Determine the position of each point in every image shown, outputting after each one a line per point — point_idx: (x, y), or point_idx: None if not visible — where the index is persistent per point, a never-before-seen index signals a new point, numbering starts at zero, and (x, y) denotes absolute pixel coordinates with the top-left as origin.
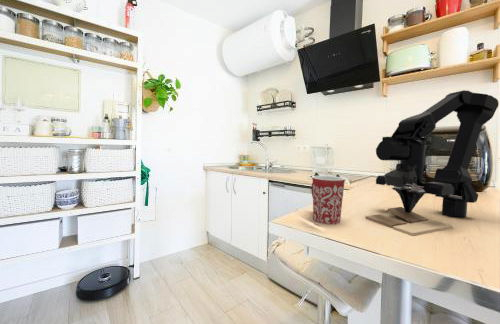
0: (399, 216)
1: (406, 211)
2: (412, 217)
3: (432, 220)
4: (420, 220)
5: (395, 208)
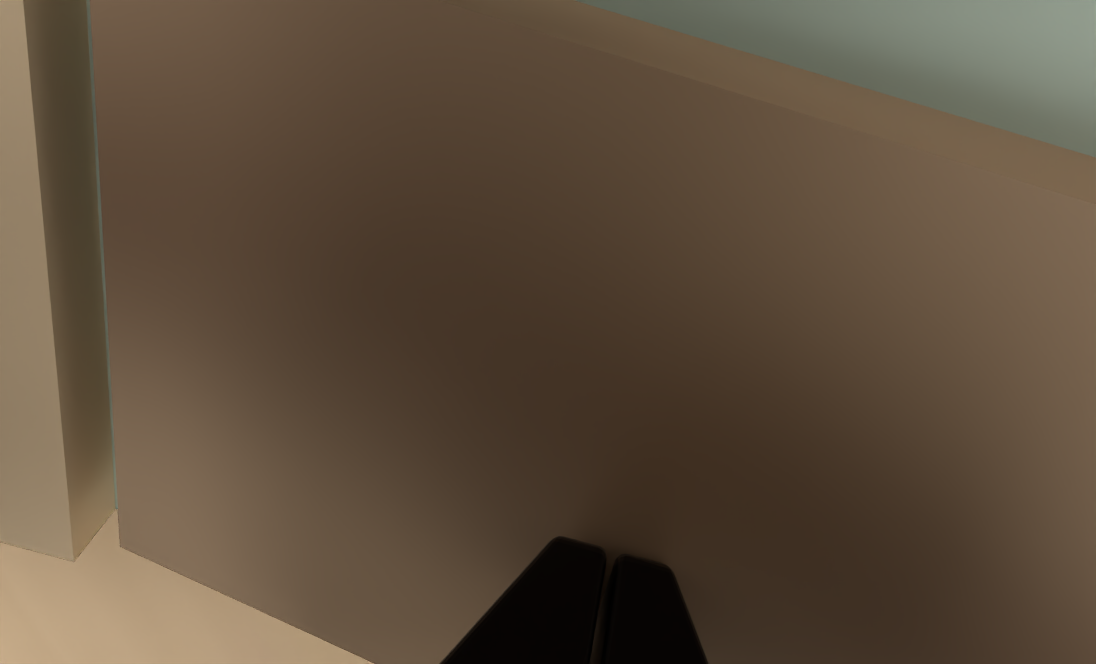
0: (728, 53)
1: (629, 568)
2: (311, 225)
3: (25, 506)
4: (106, 217)
5: (1083, 619)
